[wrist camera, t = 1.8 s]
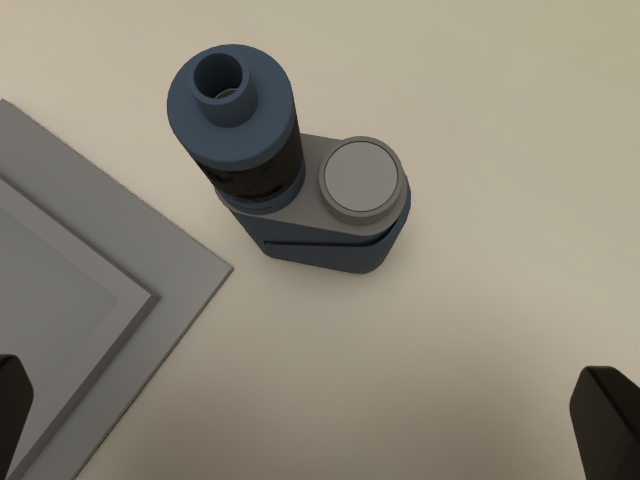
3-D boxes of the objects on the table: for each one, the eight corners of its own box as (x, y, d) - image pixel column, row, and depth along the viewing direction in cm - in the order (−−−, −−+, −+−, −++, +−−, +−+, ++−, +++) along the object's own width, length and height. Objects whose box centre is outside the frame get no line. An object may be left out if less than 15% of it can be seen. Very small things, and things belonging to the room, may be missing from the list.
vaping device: (262, 193, 21) (164, -6, 9) (393, 217, 20) (470, 43, 9) (248, 256, 20) (125, 134, 8) (382, 282, 20) (447, 191, 8)
